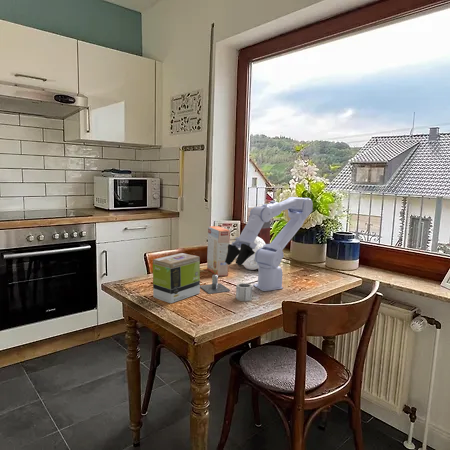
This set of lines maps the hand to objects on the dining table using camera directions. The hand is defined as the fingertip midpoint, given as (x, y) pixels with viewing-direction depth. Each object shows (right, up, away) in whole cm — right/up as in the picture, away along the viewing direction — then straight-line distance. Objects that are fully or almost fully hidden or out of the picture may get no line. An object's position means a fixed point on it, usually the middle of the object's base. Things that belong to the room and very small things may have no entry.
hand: (232, 264), depth 132 cm
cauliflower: (+12, -7, +47) cm, 49 cm away
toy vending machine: (+15, -4, +71) cm, 73 cm away
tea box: (-21, -12, +3) cm, 24 cm away
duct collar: (+4, -13, +1) cm, 14 cm away
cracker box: (-6, -8, +36) cm, 37 cm away
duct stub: (-7, -11, +11) cm, 17 cm away
